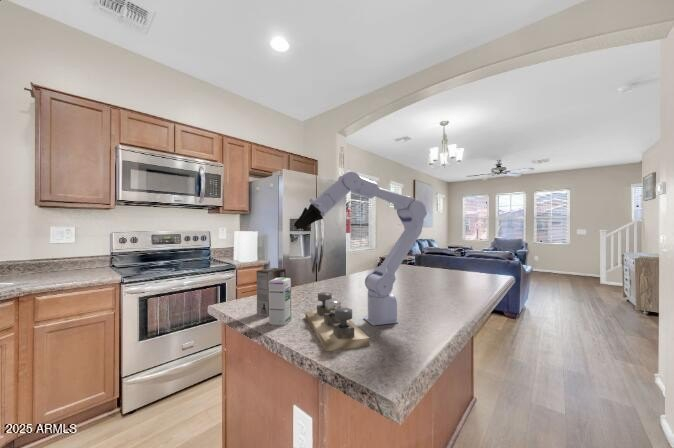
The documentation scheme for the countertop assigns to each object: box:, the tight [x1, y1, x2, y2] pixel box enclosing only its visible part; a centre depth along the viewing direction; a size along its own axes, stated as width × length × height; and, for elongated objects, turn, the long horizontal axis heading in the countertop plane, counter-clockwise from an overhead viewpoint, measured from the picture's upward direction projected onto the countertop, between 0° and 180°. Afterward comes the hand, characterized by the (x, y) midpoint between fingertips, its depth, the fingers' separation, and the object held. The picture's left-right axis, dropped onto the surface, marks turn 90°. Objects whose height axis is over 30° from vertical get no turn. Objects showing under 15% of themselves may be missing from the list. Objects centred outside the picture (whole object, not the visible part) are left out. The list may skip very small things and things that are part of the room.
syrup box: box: [268, 277, 292, 326], centre depth 92 cm, size 6×6×14 cm
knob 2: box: [335, 307, 353, 328], centre depth 75 cm, size 5×5×4 cm
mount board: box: [304, 304, 371, 352], centre depth 85 cm, size 12×28×4 cm, turn 18°
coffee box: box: [256, 267, 287, 318], centre depth 103 cm, size 9×6×16 cm
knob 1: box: [317, 291, 333, 308], centre depth 94 cm, size 5×5×4 cm
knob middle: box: [325, 298, 342, 317], centre depth 85 cm, size 5×5×4 cm
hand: (297, 227), depth 85 cm, fingers open, 7 cm apart
